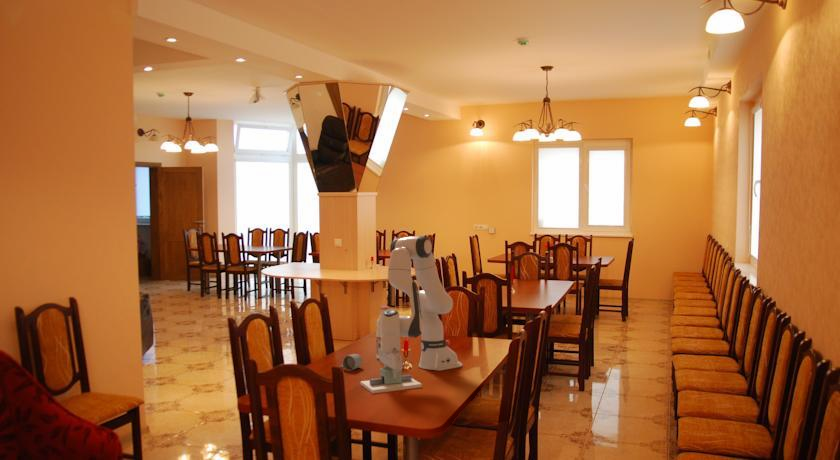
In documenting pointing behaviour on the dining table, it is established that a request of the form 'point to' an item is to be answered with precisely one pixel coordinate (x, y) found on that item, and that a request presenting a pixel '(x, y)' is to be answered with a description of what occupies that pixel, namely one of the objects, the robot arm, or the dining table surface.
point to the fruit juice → (378, 332)
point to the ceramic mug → (351, 362)
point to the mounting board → (390, 386)
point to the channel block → (390, 376)
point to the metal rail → (381, 380)
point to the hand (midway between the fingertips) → (390, 376)
